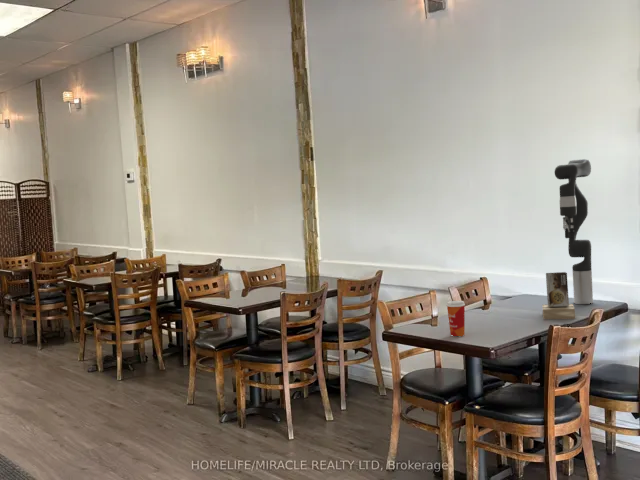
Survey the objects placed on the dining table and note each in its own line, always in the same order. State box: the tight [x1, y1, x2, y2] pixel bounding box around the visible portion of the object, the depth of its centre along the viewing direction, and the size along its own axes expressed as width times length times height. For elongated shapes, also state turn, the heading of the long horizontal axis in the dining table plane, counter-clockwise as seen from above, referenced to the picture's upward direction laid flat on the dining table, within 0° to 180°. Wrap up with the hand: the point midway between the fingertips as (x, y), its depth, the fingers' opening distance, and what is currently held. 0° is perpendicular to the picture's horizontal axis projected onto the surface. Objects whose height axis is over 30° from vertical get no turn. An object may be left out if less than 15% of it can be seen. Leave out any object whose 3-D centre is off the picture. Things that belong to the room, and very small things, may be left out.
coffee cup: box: [446, 300, 466, 337], centre depth 293 cm, size 8×8×15 cm
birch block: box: [542, 303, 576, 320], centre depth 319 cm, size 13×14×5 cm
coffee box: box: [545, 271, 570, 307], centre depth 318 cm, size 9×6×16 cm
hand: (569, 238), depth 324 cm, fingers open, 8 cm apart
